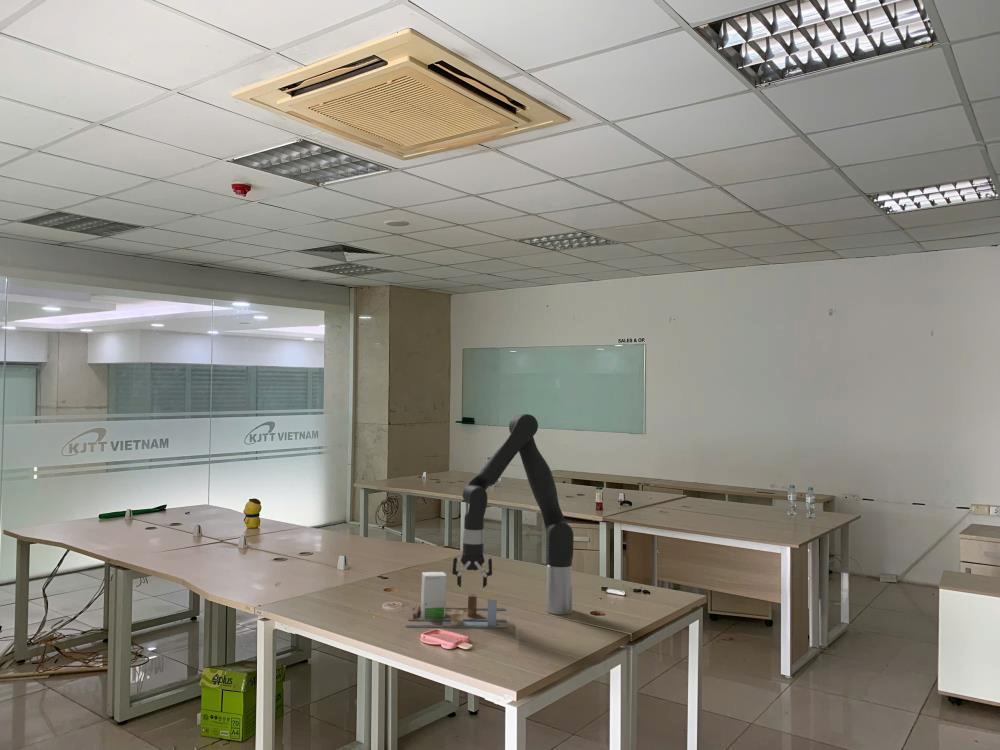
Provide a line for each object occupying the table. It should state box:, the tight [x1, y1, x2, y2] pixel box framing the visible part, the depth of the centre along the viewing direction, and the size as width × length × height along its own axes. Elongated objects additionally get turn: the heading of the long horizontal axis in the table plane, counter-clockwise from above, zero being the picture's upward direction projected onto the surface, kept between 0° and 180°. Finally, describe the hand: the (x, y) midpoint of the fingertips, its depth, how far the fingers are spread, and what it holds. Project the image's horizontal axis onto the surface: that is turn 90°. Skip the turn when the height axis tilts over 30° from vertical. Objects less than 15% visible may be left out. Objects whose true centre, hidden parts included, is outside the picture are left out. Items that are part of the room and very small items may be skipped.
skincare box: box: [419, 571, 448, 618], centre depth 250 cm, size 8×7×16 cm
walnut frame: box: [412, 593, 478, 619], centre depth 250 cm, size 22×12×8 cm, turn 91°
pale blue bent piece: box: [441, 598, 498, 626], centre depth 240 cm, size 18×5×9 cm, turn 91°
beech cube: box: [450, 610, 464, 625], centre depth 239 cm, size 4×4×4 cm
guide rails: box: [405, 606, 508, 629], centre depth 246 cm, size 34×22×2 cm, turn 91°
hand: (471, 586), depth 250 cm, fingers open, 8 cm apart
